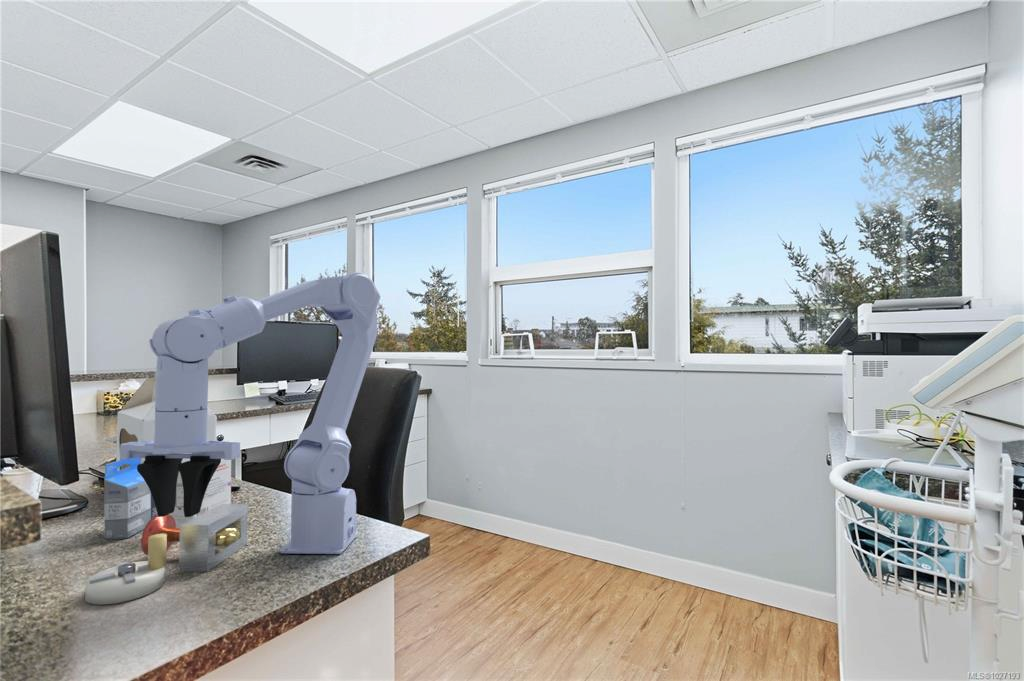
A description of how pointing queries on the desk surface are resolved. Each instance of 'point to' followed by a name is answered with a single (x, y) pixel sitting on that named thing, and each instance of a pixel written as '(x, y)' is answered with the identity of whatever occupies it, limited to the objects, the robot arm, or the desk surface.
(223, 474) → the ink cartridge box
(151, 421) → the gable box
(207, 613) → the desk surface
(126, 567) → the wheel spindle
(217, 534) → the hook rod
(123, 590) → the lock wheel
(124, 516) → the label tape box
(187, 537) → the eye block
